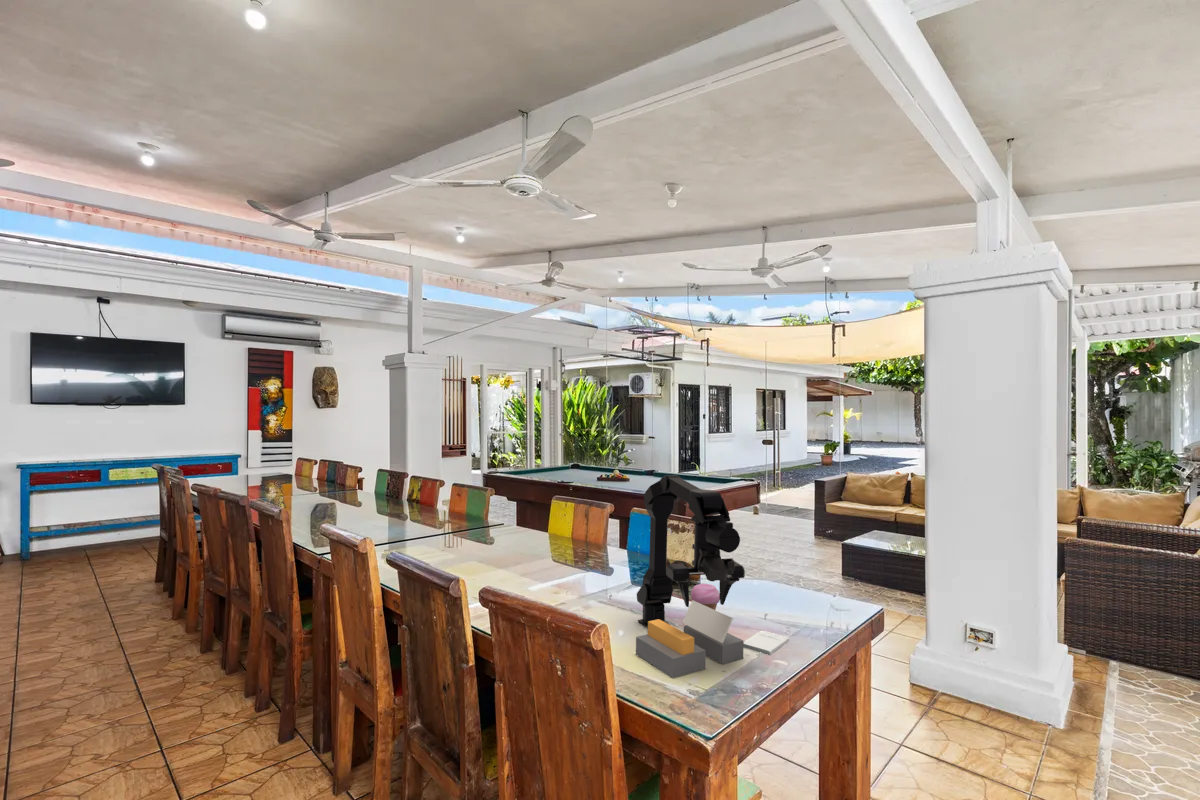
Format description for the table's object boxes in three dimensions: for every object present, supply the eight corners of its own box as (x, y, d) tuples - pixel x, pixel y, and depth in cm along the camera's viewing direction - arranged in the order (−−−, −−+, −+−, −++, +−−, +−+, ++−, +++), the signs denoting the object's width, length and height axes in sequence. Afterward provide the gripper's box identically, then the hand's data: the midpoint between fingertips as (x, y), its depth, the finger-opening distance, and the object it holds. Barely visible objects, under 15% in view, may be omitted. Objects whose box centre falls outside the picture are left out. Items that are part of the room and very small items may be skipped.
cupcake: (721, 623, 179) (722, 589, 179) (691, 622, 179) (692, 587, 179) (717, 612, 187) (718, 580, 187) (689, 611, 188) (689, 578, 188)
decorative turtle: (660, 576, 224) (662, 554, 225) (701, 584, 220) (703, 561, 220) (654, 582, 215) (656, 559, 215) (697, 590, 210) (699, 567, 211)
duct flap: (692, 599, 165) (693, 600, 165) (682, 622, 163) (683, 623, 164) (731, 617, 152) (733, 618, 153) (721, 642, 151) (722, 643, 151)
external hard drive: (740, 648, 162) (760, 635, 172) (770, 657, 157) (789, 643, 166) (740, 642, 162) (760, 629, 172) (770, 651, 157) (789, 637, 166)
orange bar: (647, 635, 157) (648, 621, 157) (658, 632, 159) (659, 619, 159) (682, 655, 145) (682, 640, 145) (693, 652, 147) (694, 637, 147)
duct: (635, 654, 156) (636, 636, 156) (703, 637, 167) (703, 621, 167) (672, 678, 143) (672, 658, 143) (743, 658, 155) (743, 640, 154)
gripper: (682, 552, 141) (680, 619, 142) (756, 549, 146) (754, 614, 146) (666, 540, 152) (664, 603, 152) (735, 538, 157) (733, 599, 157)
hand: (704, 605), depth 152 cm, fingers open, 9 cm apart
